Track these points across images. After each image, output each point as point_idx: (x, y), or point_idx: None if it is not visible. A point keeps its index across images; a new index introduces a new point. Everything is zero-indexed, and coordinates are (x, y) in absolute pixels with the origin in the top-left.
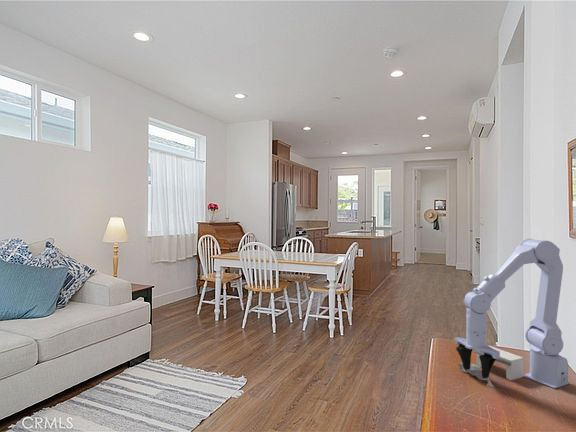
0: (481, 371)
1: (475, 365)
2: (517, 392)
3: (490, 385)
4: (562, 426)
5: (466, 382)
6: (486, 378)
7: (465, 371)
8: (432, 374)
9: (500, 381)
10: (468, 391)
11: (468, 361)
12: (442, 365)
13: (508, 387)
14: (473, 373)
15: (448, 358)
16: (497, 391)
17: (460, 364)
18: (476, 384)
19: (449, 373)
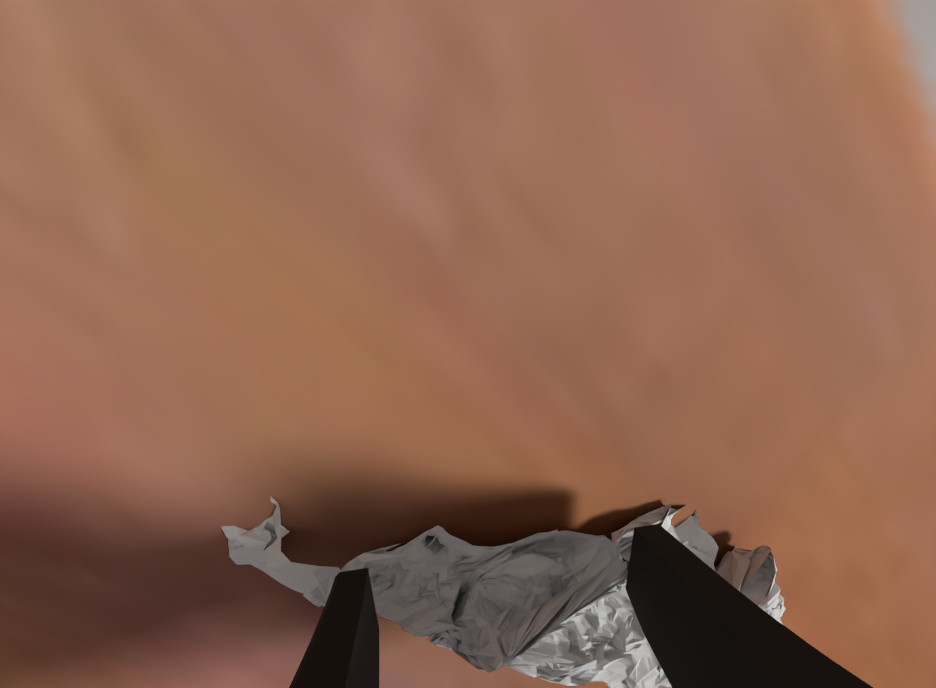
0: (480, 651)
1: (627, 685)
2: (28, 667)
3: (253, 536)
4: None
5: (445, 334)
6: None
7: (646, 525)
8: (891, 45)
9: None
10: (159, 93)
11: (695, 683)
12: (903, 418)
13: (171, 661)
14: (548, 560)
15: (922, 578)
16: (86, 504)
17: (768, 578)
18: (346, 412)
19: (740, 331)
